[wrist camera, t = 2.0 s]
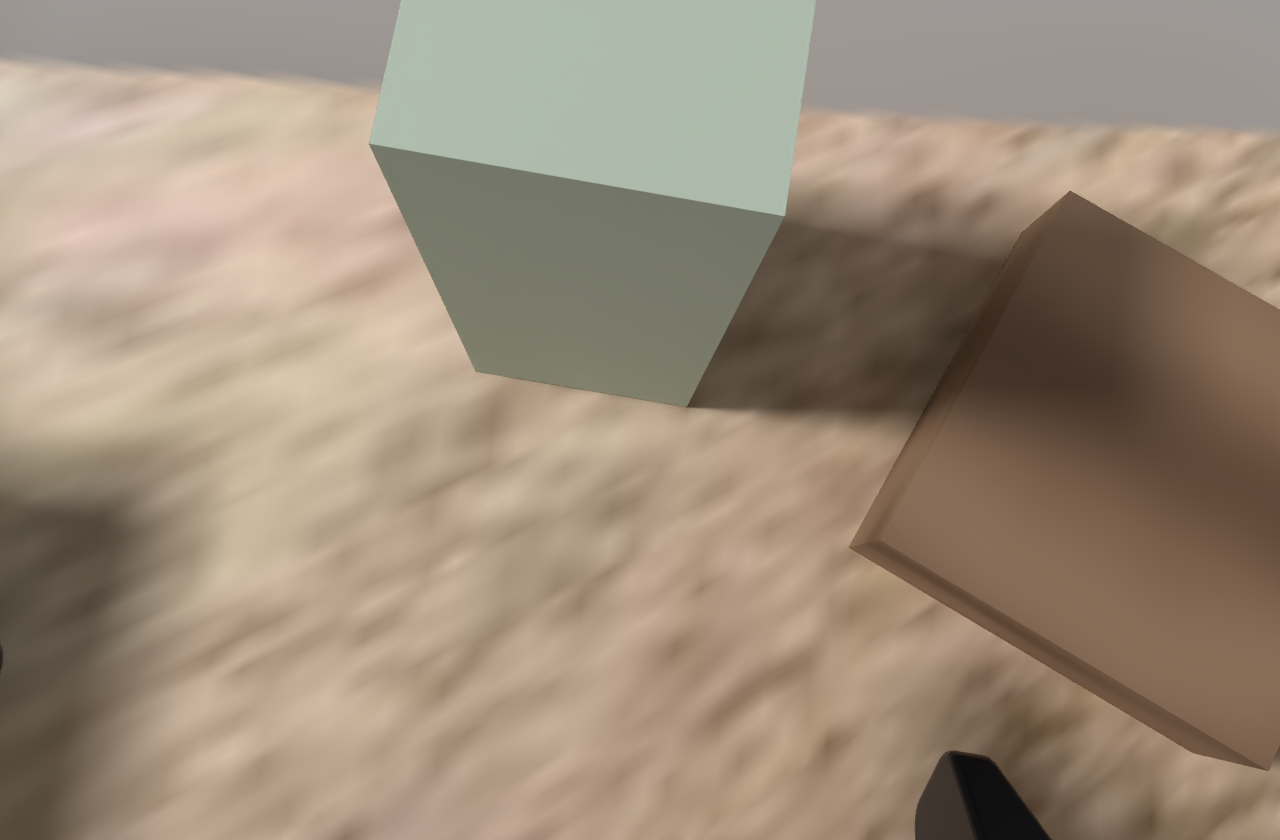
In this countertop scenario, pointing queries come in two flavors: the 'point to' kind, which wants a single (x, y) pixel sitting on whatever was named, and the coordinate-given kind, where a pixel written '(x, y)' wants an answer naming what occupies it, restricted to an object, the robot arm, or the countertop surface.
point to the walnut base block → (1109, 481)
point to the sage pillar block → (593, 175)
